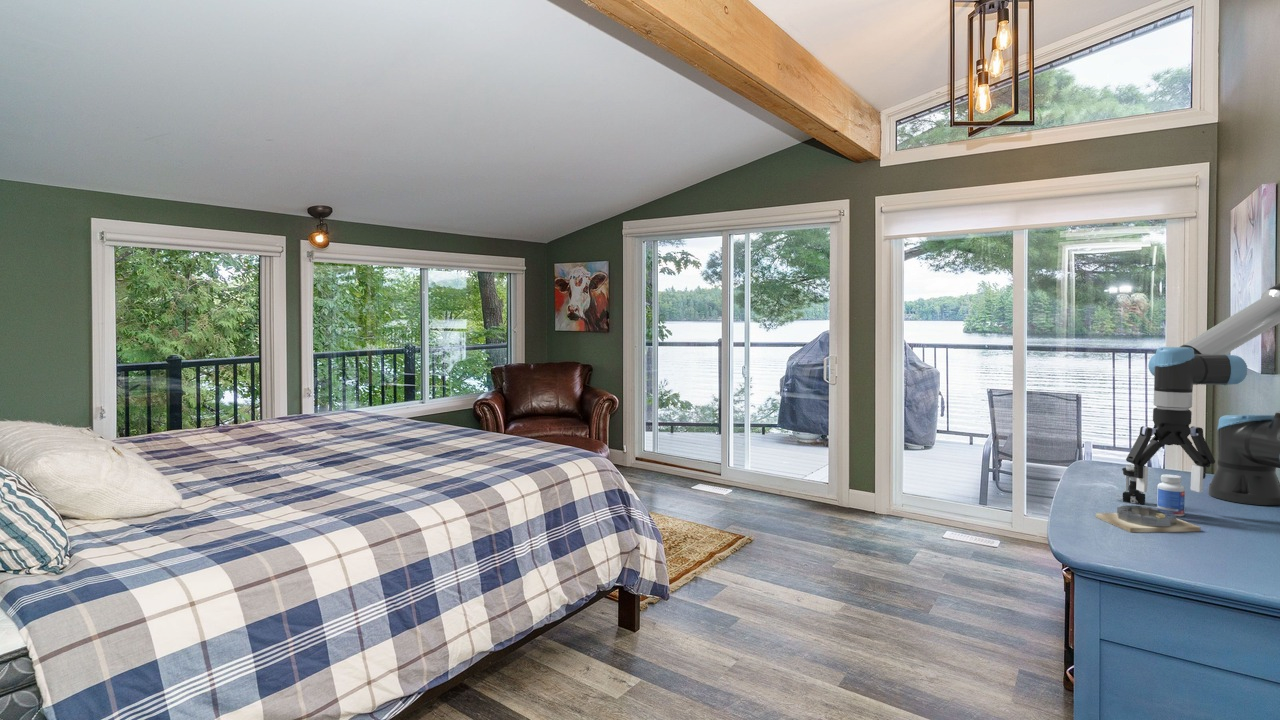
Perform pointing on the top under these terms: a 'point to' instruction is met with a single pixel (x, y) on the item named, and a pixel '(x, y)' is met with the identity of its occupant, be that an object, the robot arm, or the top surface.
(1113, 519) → the board
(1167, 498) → the pill bottle
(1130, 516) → the ring
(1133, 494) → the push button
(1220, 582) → the top surface
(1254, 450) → the robot arm
